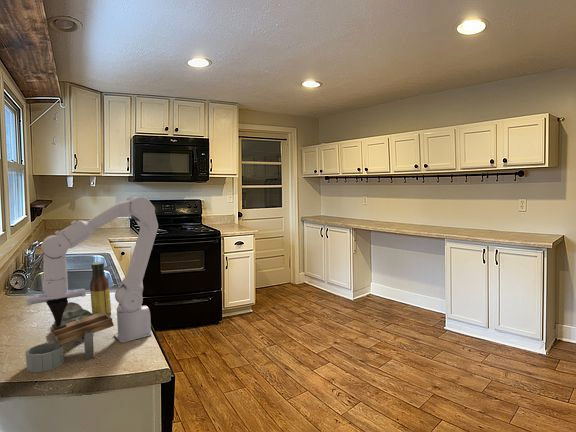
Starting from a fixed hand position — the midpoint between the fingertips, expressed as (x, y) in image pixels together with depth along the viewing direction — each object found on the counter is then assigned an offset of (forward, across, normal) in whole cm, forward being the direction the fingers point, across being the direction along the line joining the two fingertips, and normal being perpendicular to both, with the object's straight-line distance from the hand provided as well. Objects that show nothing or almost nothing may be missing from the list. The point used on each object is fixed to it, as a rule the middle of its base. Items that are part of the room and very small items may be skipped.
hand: (58, 325), depth 113 cm
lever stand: (+8, -6, +4) cm, 10 cm away
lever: (+1, -5, +4) cm, 6 cm away
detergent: (+8, -8, -19) cm, 22 cm away
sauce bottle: (+8, -18, -24) cm, 30 cm away
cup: (+8, +4, +6) cm, 11 cm away
